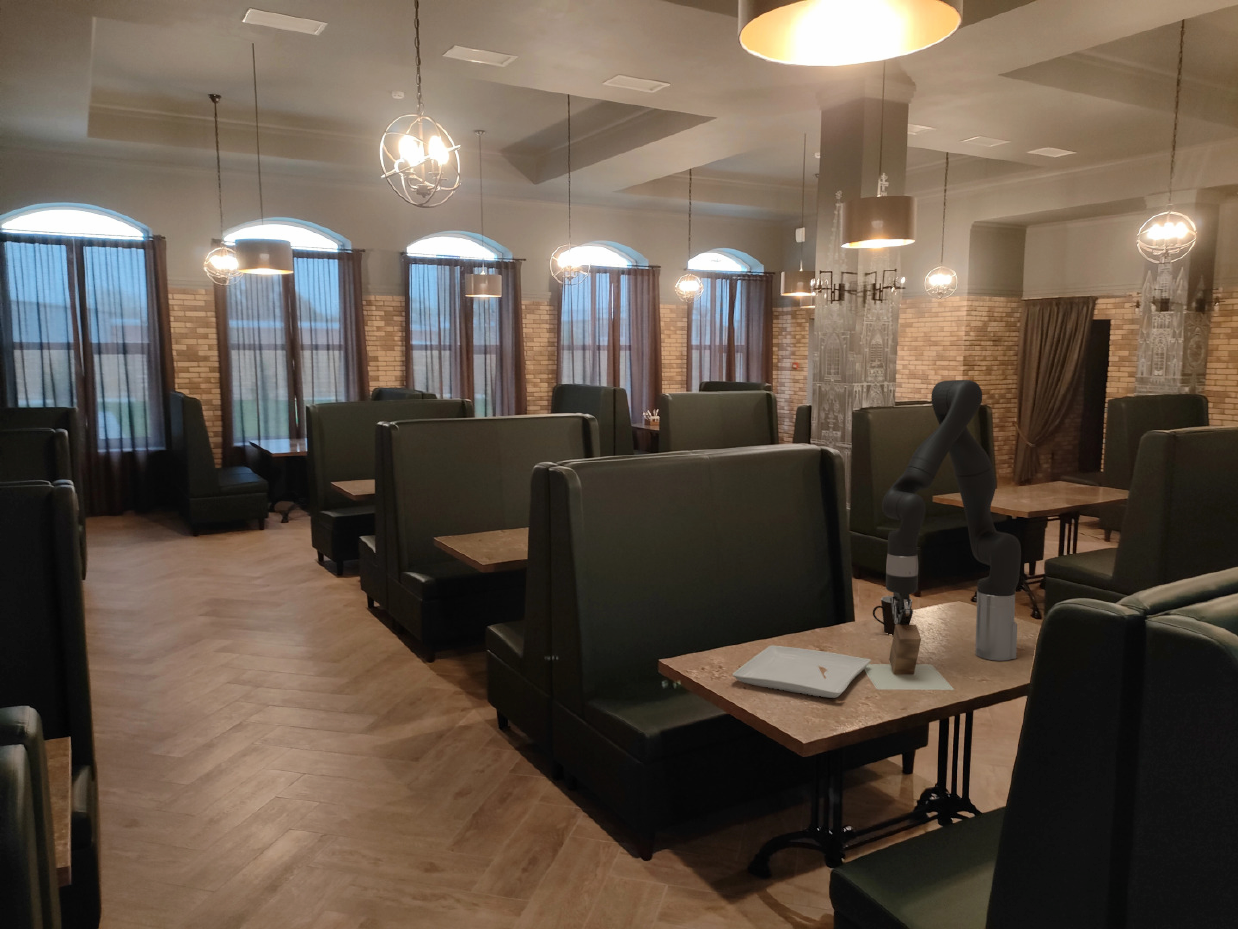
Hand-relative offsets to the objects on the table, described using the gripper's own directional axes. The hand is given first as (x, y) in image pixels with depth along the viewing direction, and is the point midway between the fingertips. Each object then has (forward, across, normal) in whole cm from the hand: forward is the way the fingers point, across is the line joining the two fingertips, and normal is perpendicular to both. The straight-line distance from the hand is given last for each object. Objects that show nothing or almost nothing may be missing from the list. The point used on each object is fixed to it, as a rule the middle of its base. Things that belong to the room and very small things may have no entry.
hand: (900, 639), depth 217 cm
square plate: (+9, -4, +25) cm, 27 cm away
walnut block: (+7, 0, 0) cm, 7 cm away
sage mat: (+9, -4, 0) cm, 10 cm away
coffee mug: (+9, +34, -6) cm, 35 cm away
